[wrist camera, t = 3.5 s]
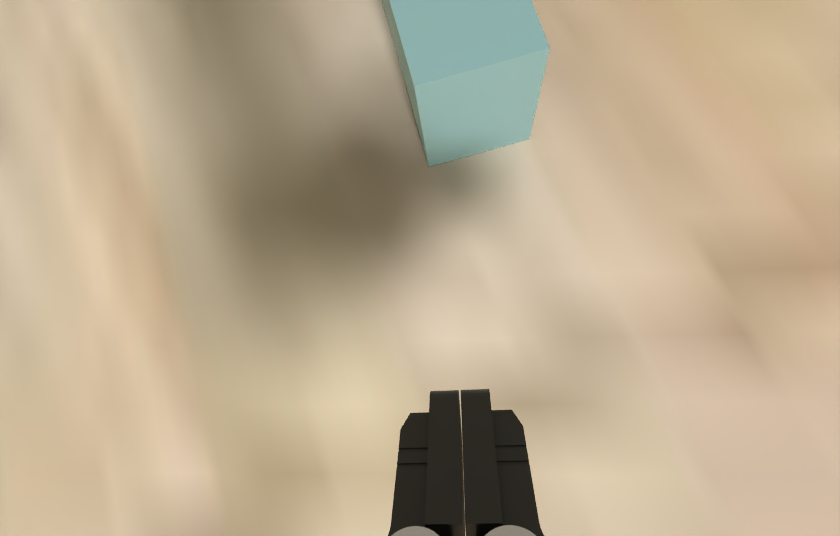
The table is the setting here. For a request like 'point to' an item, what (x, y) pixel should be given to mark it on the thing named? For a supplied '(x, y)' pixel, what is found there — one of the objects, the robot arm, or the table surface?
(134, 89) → the table surface
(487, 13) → the block
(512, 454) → the robot arm
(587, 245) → the table surface
